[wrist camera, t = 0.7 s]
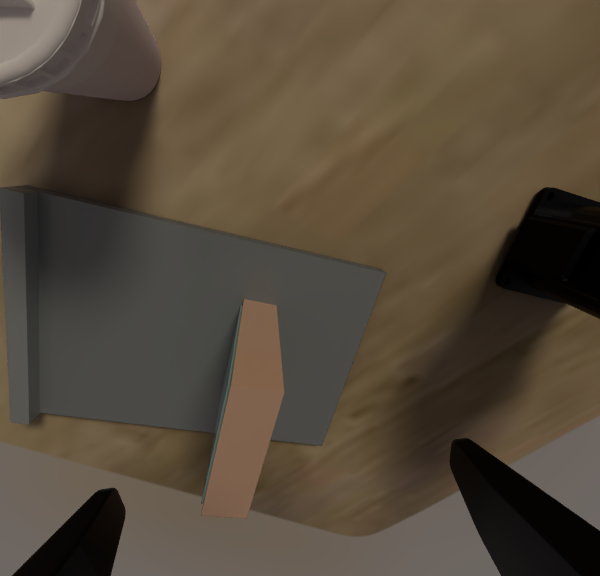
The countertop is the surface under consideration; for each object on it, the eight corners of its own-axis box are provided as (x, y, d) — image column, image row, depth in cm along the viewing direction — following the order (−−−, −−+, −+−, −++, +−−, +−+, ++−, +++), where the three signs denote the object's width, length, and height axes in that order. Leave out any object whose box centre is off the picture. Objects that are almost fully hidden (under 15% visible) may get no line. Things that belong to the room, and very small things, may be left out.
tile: (276, 305, 19) (284, 392, 12) (252, 397, 22) (246, 518, 14) (242, 298, 19) (228, 384, 12) (221, 392, 21) (198, 515, 14)
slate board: (381, 269, 20) (392, 278, 18) (320, 437, 25) (324, 457, 23) (26, 185, 16) (-1, 187, 15) (30, 401, 21) (10, 422, 19)
